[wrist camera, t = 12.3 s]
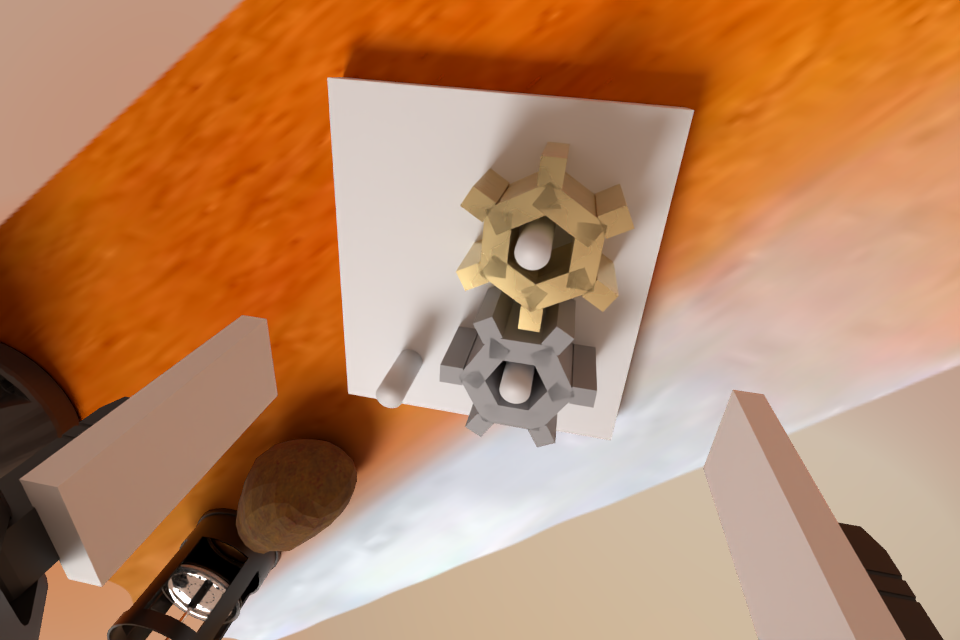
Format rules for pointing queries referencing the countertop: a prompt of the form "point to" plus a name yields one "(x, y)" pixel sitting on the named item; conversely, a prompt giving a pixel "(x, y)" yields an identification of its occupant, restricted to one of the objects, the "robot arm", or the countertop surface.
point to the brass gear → (569, 265)
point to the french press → (198, 585)
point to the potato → (294, 494)
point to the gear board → (452, 231)
